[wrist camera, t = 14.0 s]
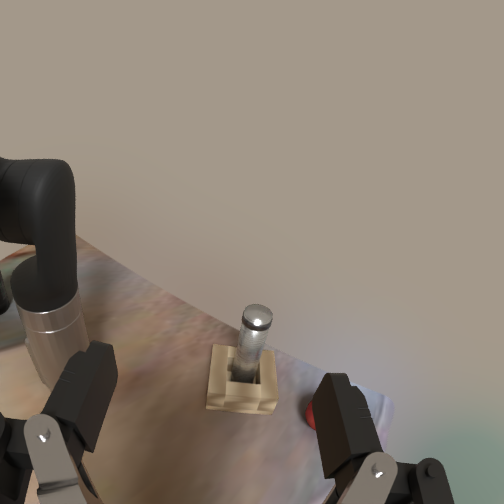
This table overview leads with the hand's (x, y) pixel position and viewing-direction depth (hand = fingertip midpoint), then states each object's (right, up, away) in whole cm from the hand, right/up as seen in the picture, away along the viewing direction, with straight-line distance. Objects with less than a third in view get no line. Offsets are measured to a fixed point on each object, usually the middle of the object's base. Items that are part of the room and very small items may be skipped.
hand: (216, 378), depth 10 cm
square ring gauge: (-1, -17, +34) cm, 38 cm away
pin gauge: (-1, -16, +33) cm, 37 cm away
